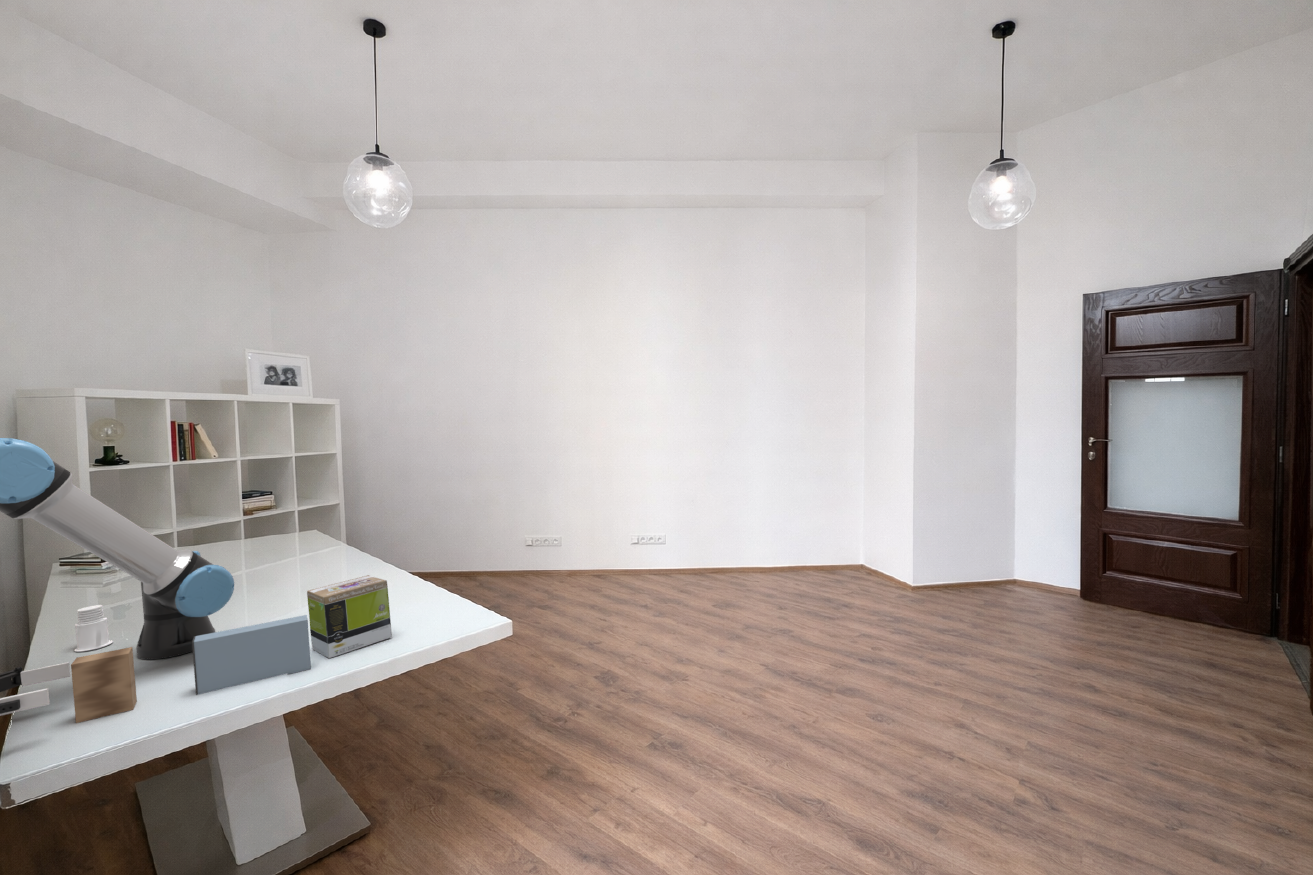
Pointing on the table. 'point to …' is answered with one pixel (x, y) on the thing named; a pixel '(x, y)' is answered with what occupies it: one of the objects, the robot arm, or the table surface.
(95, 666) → the stub
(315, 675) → the table surface
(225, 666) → the blue-gray rectangular block
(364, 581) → the tea box
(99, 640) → the downlight
